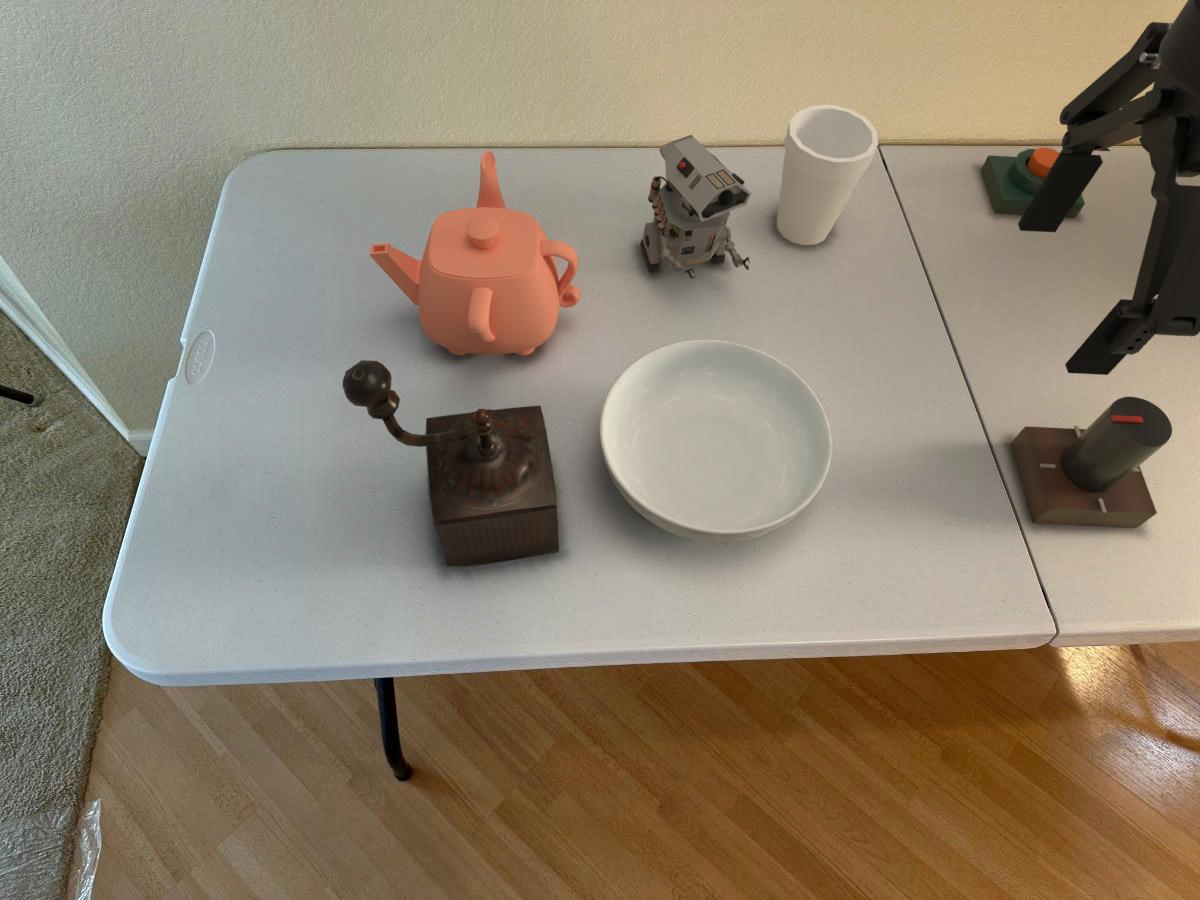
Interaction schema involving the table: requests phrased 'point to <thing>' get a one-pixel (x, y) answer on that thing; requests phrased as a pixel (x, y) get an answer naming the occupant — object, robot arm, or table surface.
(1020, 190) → the button box
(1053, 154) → the button
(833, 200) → the foam cup
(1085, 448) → the pointer knob
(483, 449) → the coffee grinder
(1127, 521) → the dial panel
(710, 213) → the figurine
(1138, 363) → the table surface
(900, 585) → the table surface
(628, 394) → the serving bowl
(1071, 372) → the robot arm
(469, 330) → the teapot
